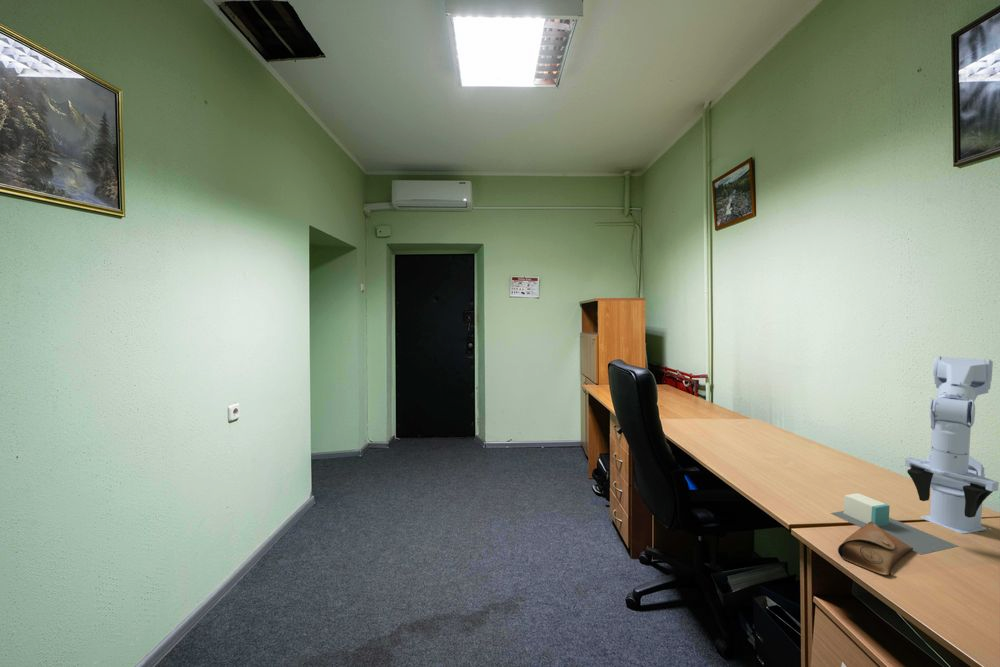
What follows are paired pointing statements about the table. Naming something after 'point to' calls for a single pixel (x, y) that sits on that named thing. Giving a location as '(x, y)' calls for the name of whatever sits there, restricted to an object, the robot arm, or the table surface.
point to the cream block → (866, 509)
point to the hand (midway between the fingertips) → (946, 507)
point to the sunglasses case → (873, 549)
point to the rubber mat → (906, 535)
